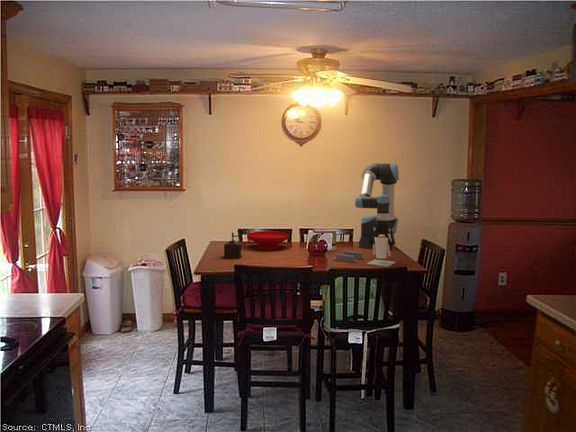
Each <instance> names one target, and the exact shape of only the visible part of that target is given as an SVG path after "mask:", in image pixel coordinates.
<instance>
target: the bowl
mask: <svg viewBox="0 0 576 432" xmlns="http://www.w3.org/2000/svg"><path fill="white" fill-rule="evenodd" d="M246 236H247V237H246V239H248V240H250V241H251V242H253V243H255V244H256V248H257V249H259V250H263V251H271V250H277V249H280V244H283V242H286V241H287V240H289V239H290V234H289V233H286V232H281V231H270V230H269V231H266V230H265V231H254V232H249V233H247V235H246Z"/></svg>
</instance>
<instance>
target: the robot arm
mask: <svg viewBox="0 0 576 432" xmlns="http://www.w3.org/2000/svg"><path fill="white" fill-rule="evenodd" d="M399 173H400V172H399V166H398V164H397V163H391V162H390V163H377V162H376V163H372V164H370V165H368V166H367V167H366V168H365V169H364V170H363V171H362V174H361V179H362V182H361V186H360V187H361V188H360V192H359V196H358V195H357V196H356V197H355V202H354V204H355V208H356V209H376V215H375V214H374V215H367V216H362V218H361V221H360V225H361V227H360V229H361V231H360V238H359V241H358V246H357V247H358V248H361V249H371V250H372V255H374V256H375V255H376V248H375V237H377V238H378V236H385V237H386V238H388V243H389V246H388V252H387V257H391V255H392V254H391V252H392V251H393V246H395V245H396V239H395V236H394V235H395V234H397V233H396V232H397V228H398V225H399V224H398V223H399V218H397V216H396V214H395V185H396V184H397V182H398V181H399V180H400V175H399ZM375 181H379V183H380V184H381V185H382V189H381V190H382V191H381V194H378V195H377V196H372V194H373V189H374V188H373V187H374V182H375ZM389 235H390V236H389ZM389 238H390V239H389Z"/></svg>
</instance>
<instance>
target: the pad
mask: <svg viewBox="0 0 576 432" xmlns="http://www.w3.org/2000/svg"><path fill="white" fill-rule="evenodd" d="M396 262H397V261H392V260H391V261H390V260H383V259H373V260H370V261H368V262H367V263H366V265H371V266H372V265H373V266H380V267H386V268H388V267H390V266H392V265H395V264H396Z"/></svg>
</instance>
